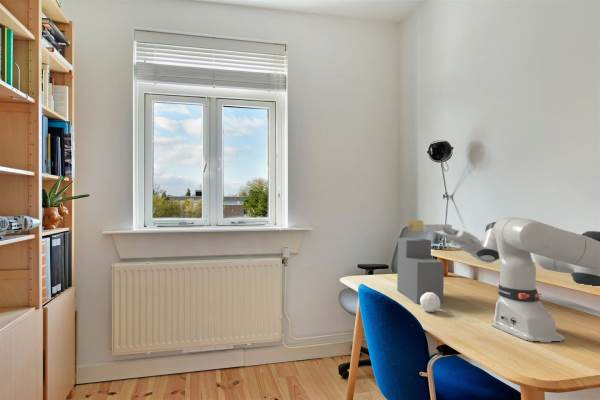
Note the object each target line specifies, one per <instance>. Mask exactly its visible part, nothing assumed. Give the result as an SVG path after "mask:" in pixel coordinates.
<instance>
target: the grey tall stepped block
mask: <svg viewBox="0 0 600 400" xmlns="http://www.w3.org/2000/svg"><path fill="white" fill-rule="evenodd" d="M431 256H432V240H430V239H427V238H423V237H398V240H397V276H396V277H397V284H396V285H397V286H396V288H397V289H396V291H397V293H398V292H399V293H400V294H401V295H402V296H404V297H405V298H407V299H409V300H410V301H412V302H413V303H415V304H417V305H421V304H420V298H421V296H422V295H423V294H425V293H426V292H432V293H434V294H436V295H437V296H438V297H439V300H440V305H442V304H444V284H445V283H444V281H445V280H444V279H445V277H444V276H445V275H444V274H445V273H444V272H445V271H444V270H445V262H444V261H442V260H439V259H436V258H433V257H431Z"/></svg>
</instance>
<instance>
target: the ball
mask: <svg viewBox="0 0 600 400" xmlns="http://www.w3.org/2000/svg"><path fill="white" fill-rule="evenodd" d="M419 305H420V307H421V308H422V309H423V310H424V311H426V312H428V313H434V312H436V311H438V310H439V309H440V307H441V304H440V300H439V297H438V296H437V295H436V294H434V293H432V292H426V293H425V294H423V295H422V296H421V298H420V304H419Z"/></svg>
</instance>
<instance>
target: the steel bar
mask: <svg viewBox="0 0 600 400" xmlns="http://www.w3.org/2000/svg"><path fill="white" fill-rule="evenodd" d="M445 226H448V227H450V228H452V229H453V225H452V224H437V223H435V224H432V223H430V224H427V223H426V224H424V220H421V219H420V220H419V219H413V220H412V219H409V220H408V231H410V232H440V231H446V230H445V229H444V227H445Z"/></svg>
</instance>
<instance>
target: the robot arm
mask: <svg viewBox="0 0 600 400" xmlns="http://www.w3.org/2000/svg"><path fill="white" fill-rule="evenodd" d="M444 229H445V230H446V231H439V234H440V235H441V236H442V237H444V238H445V239H446V240H448V241H449V242H450V243H451V244H452V245H453V246H456V247H457V248H459V249H460V250H462V252H463V251H464V252H465V253H467V254H469V255H471V256H472V257H473V258H474V259H477V260H479V261H481V262H482V263H485V262H486V263H485V264H493V263H494V262H495V261H497V260H499V271H500V272H499V274H500V275H499V284H498V287H497V290H498V292H497V294H498V295H499V297H498V299H497V301H496V304H495V310H494V318H493V321H492V322H491V326H492V327H494V328H496V329H498V330H501V331H503V332H505V333H508V334H510V335H513V336H515V337H517V338H520V339H521V340H522V339H523V340H524V341H527V340H528V342H533V341H540V342H539V343H552V342H551V341H560V342H562V341H561V340H564V339H565V340H566V337H565V336H564V335H562V334H561V333H560V332H557V326H556V321H555V319H554V317H553V315H552V314H551V313H549V312H548V310H547V309H546V308H545V307H544V305H543V304H542V303H541V302H540V298H542V293H539V292H538V289H537V287H536V286H537V284H536V283H537V277H536V276H537V268H536V264H537V265H538V266H540V267H541V268H542V269H545V270H546V271H547V270H548V271H551V272H557V273H564V274H570V275H571V277H572V280H573V282H574V283H575V282H576V283H578V284H584V285H592V286H600V231H599V230H588V231H585V232H583V233H582V234H580V233H576V232H572V231H568V230H565V229H562V228H558V227H555V226H552V225H549V224H546V223H544V222H541V221H536V220H533V219H531V218H523V217H511V216H507V217H504V218H500V219H499V220H496V221H493V222H490V223H488V224H487V225H486V227H485V230H484V235H483V238H482V240H480V239H479V238H478V237H476V236H475V235H473V234H472V233H471V232H468V231H464V230H463V229H462V230H461V229H454V228H453V227H452V228H450V227H448V226H445V227H444ZM532 255H533V257H532ZM533 259H534V260H535V262H536V264H535V262H534V260H533ZM576 283H575V284H576ZM565 340H564V341H565ZM547 341H548V342H547Z"/></svg>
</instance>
